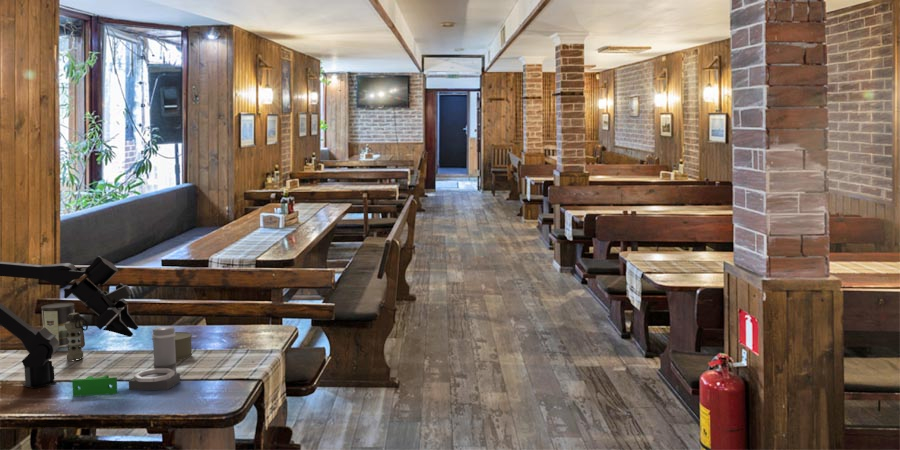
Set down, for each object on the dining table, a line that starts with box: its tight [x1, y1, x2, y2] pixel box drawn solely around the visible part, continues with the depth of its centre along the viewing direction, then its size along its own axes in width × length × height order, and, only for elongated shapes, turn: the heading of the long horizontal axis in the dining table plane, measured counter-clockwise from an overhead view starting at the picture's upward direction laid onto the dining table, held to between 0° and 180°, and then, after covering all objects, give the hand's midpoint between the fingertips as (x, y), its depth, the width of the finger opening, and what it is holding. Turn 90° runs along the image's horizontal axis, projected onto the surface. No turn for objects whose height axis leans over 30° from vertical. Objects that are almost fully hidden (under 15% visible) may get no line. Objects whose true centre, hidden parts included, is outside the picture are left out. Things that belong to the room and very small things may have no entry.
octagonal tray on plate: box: [128, 368, 181, 391], centre depth 205 cm, size 11×10×4 cm
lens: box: [152, 326, 177, 373], centre depth 215 cm, size 6×6×14 cm
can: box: [151, 331, 193, 361], centre depth 237 cm, size 12×12×7 cm
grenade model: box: [65, 312, 90, 361], centre depth 235 cm, size 6×7×15 cm
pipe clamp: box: [71, 375, 118, 397], centre depth 199 cm, size 11×4×5 cm, turn 97°
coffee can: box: [40, 302, 76, 349], centre depth 254 cm, size 10×10×14 cm
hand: (134, 332), depth 213 cm, fingers open, 9 cm apart
